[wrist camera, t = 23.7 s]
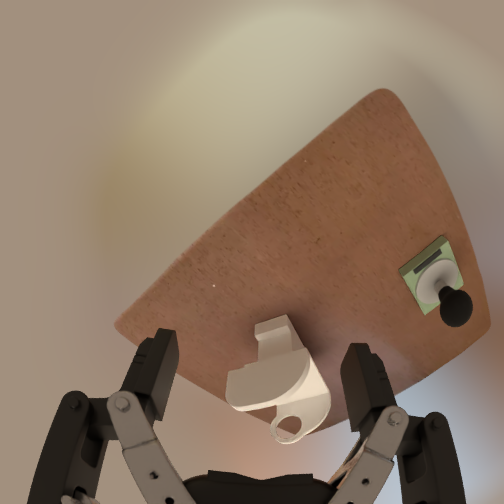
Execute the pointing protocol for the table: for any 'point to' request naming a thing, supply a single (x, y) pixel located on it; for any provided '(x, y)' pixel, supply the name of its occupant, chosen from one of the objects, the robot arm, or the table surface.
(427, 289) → the scale
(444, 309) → the light bulb
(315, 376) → the tape dispenser
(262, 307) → the table surface
